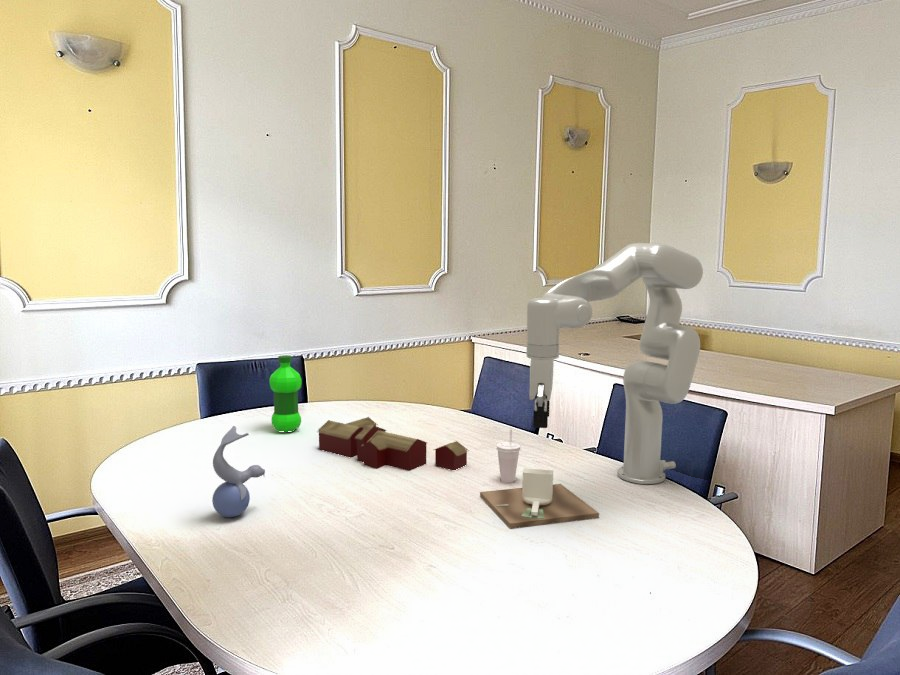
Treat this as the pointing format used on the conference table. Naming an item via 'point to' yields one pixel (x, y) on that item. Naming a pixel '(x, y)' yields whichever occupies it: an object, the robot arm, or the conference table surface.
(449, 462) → the toy houses
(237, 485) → the seal
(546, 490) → the peg knob
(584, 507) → the dial board
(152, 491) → the conference table surface
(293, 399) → the plastic bottle
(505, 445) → the smoothie
